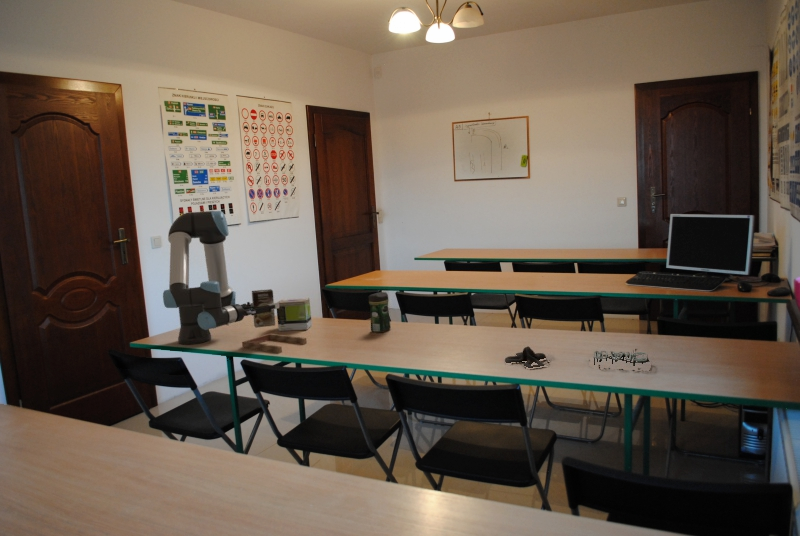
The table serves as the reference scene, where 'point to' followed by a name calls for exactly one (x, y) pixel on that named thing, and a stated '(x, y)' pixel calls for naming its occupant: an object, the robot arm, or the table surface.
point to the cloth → (527, 358)
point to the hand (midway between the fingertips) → (270, 304)
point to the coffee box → (263, 300)
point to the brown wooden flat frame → (271, 348)
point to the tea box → (294, 314)
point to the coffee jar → (379, 312)
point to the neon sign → (621, 357)
